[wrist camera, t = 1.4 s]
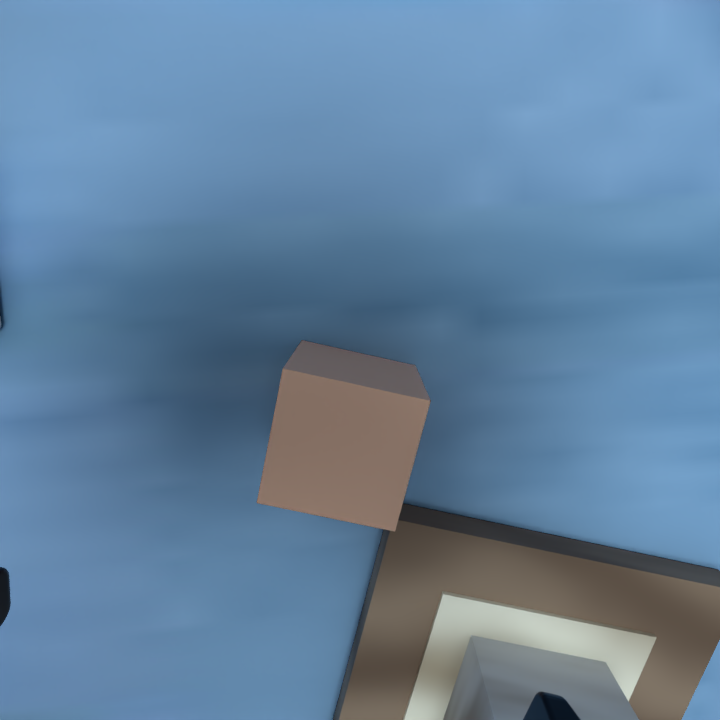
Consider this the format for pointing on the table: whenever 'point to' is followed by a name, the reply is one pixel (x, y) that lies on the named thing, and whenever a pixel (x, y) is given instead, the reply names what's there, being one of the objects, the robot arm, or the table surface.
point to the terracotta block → (344, 436)
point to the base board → (524, 626)
